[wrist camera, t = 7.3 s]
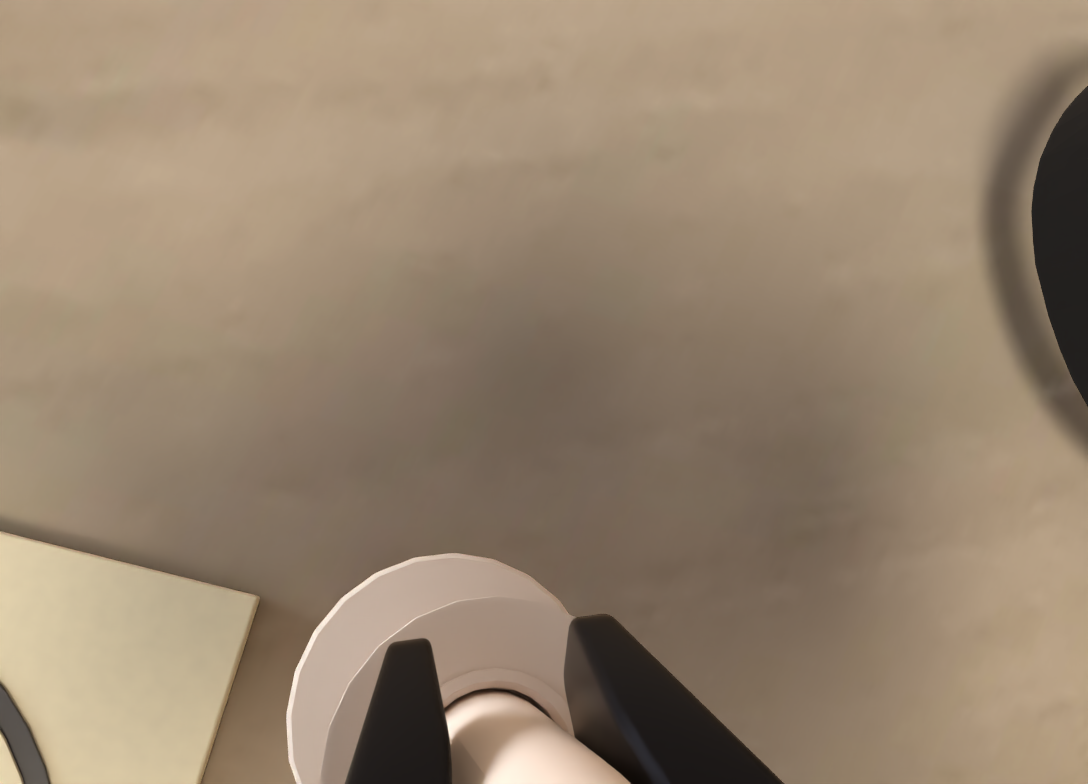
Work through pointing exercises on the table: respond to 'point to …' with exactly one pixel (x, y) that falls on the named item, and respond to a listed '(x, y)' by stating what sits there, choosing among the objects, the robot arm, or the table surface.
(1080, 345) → the headphones
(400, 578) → the candle
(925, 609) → the table surface
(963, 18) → the table surface
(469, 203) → the table surface
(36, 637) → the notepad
